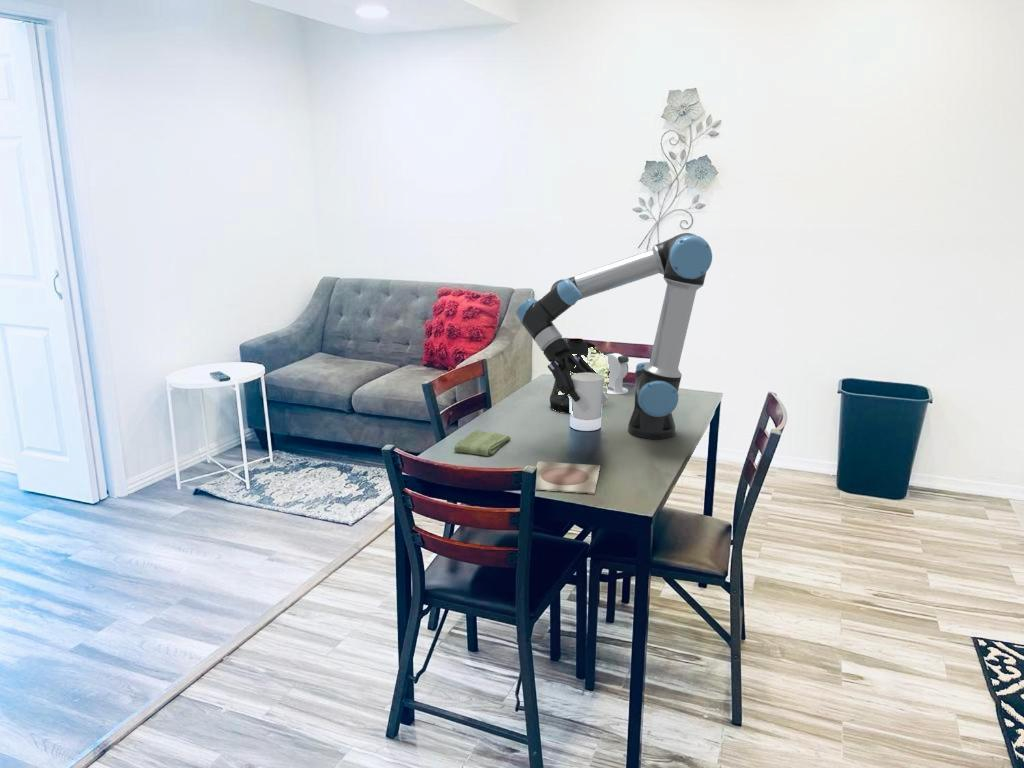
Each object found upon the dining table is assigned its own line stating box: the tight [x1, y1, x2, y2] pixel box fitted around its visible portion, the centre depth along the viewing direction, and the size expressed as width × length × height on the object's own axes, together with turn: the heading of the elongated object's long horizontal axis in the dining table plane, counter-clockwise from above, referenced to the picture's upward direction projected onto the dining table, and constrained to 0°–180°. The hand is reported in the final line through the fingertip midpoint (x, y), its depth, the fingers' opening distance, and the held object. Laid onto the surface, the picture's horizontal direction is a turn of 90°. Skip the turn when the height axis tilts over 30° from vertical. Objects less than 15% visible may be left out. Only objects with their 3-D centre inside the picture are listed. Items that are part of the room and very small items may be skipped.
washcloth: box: [453, 429, 511, 457], centre depth 234 cm, size 13×18×3 cm
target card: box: [535, 461, 601, 495], centre depth 208 cm, size 18×20×1 cm
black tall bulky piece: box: [549, 337, 601, 414], centre depth 272 cm, size 16×19×25 cm
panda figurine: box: [603, 350, 630, 396], centre depth 294 cm, size 12×11×15 cm
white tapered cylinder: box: [571, 373, 605, 421], centre depth 221 cm, size 10×10×12 cm
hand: (596, 405), depth 219 cm, fingers closed on white tapered cylinder, 9 cm apart
